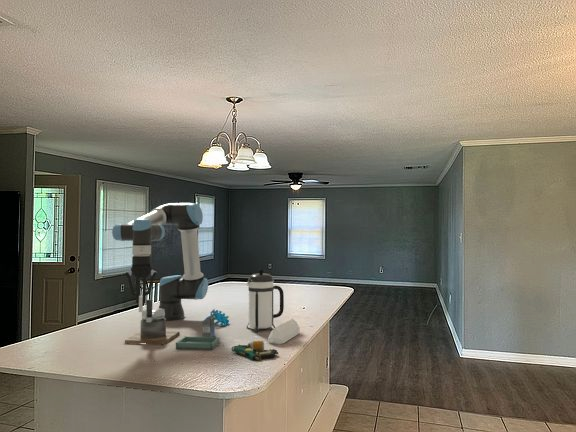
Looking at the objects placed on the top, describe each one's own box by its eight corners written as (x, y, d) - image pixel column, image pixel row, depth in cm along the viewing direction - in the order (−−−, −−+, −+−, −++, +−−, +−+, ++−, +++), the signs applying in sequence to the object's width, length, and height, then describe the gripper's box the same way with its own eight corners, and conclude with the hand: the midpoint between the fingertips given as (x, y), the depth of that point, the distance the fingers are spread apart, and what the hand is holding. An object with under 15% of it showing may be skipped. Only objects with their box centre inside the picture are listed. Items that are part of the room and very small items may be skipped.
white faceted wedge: (285, 337, 185) (305, 325, 207) (272, 327, 187) (293, 316, 209) (277, 351, 186) (297, 338, 208) (264, 341, 188) (285, 329, 211)
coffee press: (271, 334, 205) (271, 270, 206) (240, 331, 211) (240, 269, 211) (284, 326, 221) (284, 267, 222) (255, 323, 227) (255, 266, 228)
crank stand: (143, 333, 207) (143, 315, 207) (179, 334, 204) (179, 316, 205) (124, 343, 189) (124, 323, 189) (164, 344, 187) (164, 325, 187)
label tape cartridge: (206, 334, 204) (206, 308, 204) (214, 334, 204) (214, 308, 204) (202, 339, 195) (202, 312, 196) (210, 339, 195) (210, 312, 195)
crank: (143, 317, 201) (143, 293, 201) (165, 316, 203) (166, 293, 203) (136, 327, 181) (136, 301, 181) (161, 326, 182) (161, 300, 183)
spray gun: (281, 360, 168) (244, 367, 162) (263, 347, 183) (230, 353, 177) (281, 349, 168) (244, 356, 162) (263, 337, 183) (229, 342, 176)
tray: (184, 342, 191) (184, 336, 191) (219, 343, 189) (219, 337, 189) (175, 348, 180) (175, 342, 181) (212, 350, 179) (212, 344, 179)
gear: (220, 325, 217) (211, 309, 222) (213, 332, 218) (204, 316, 223) (234, 324, 226) (225, 308, 231) (227, 331, 228) (218, 316, 232)
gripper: (124, 256, 178) (123, 313, 178) (157, 255, 182) (156, 312, 181) (126, 255, 185) (125, 310, 185) (157, 254, 189) (156, 309, 188)
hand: (140, 311), depth 183 cm, fingers closed
